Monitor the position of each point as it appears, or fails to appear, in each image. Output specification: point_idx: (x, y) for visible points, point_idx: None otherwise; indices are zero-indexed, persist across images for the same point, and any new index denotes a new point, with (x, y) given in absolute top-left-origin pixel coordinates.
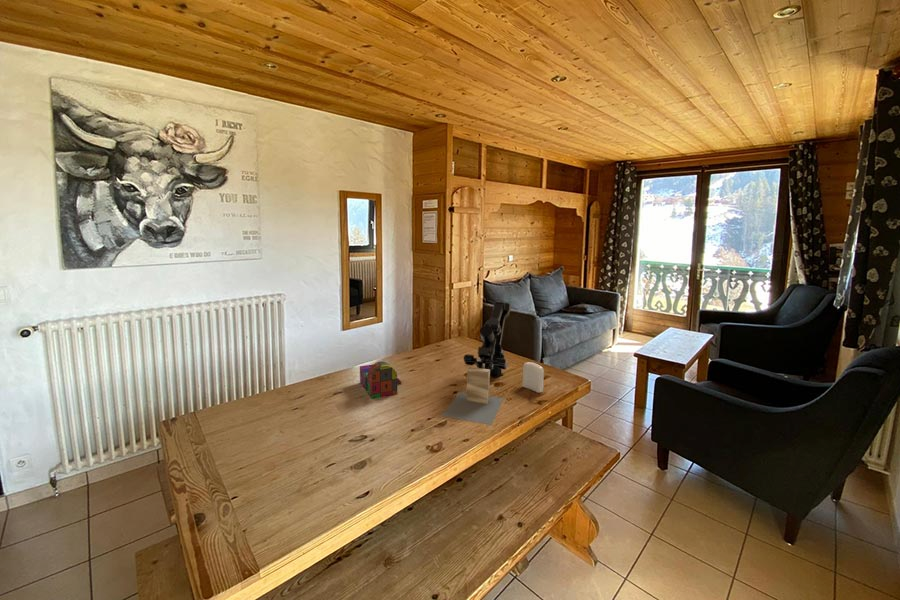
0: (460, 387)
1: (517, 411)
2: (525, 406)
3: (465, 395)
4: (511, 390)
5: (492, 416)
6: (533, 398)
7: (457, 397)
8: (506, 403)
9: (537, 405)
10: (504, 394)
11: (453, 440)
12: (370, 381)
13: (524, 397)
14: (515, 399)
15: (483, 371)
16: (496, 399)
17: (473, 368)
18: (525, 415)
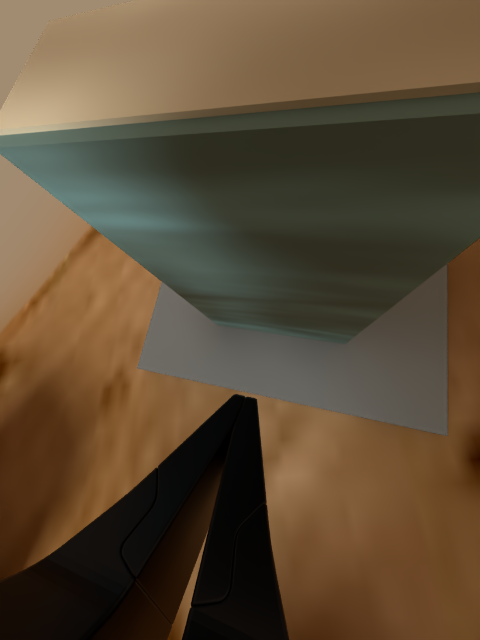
0: (471, 582)
1: (103, 267)
2: (62, 320)
3: (376, 375)
4: (81, 528)
5: None
6: (5, 416)
7: (428, 332)
8: (135, 334)
9: (14, 340)
10: (130, 454)
11: None
12: None
13: (40, 423)
14: (86, 390)
15: (128, 2)
16: (176, 348)
17: (405, 23)
18: (81, 243)
